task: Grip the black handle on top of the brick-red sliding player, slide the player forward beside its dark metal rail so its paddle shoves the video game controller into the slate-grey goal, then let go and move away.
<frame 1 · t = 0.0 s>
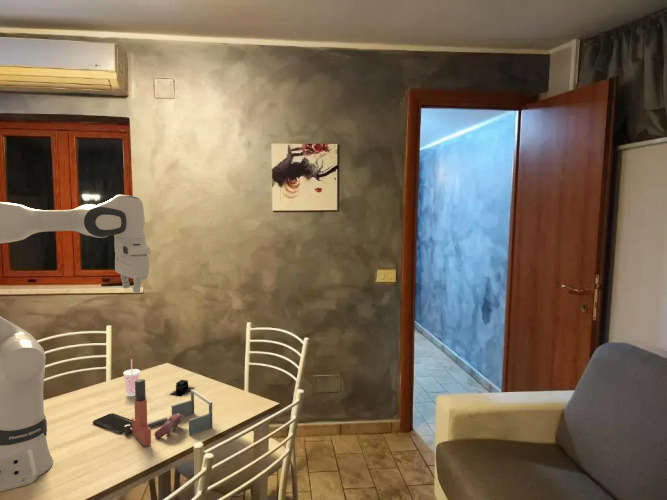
hand: (131, 290, 145), 48 cm above the table, tool pointing down, fingers open, 8 cm apart
goal: (191, 423, 158), on the table
video game controller: (170, 432, 152), on the table
rail: (148, 427, 155), on the table
beverage cup: (132, 394, 181), on the table
black piece: (182, 392, 185), on the table
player: (140, 409, 146), point 10 cm above the table, slide at 0.0 cm
phone: (115, 425, 157), on the table
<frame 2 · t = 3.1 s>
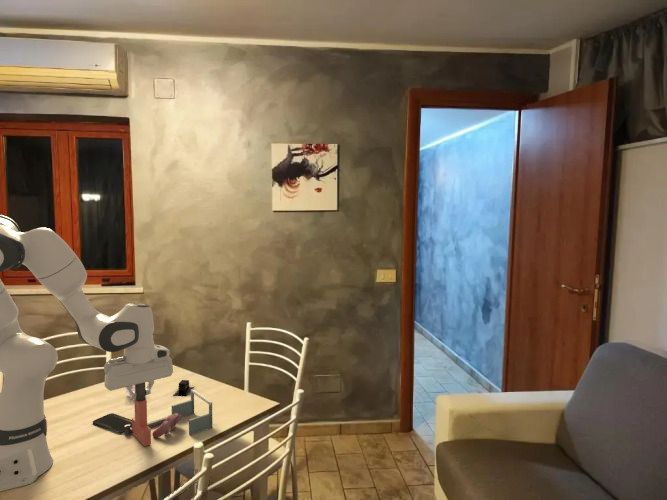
hand: (140, 395, 145), 15 cm above the table, tool pointing down, fingers closed on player, 3 cm apart
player: (140, 409, 146), point 10 cm above the table, slide at 0.0 cm, touching gripper
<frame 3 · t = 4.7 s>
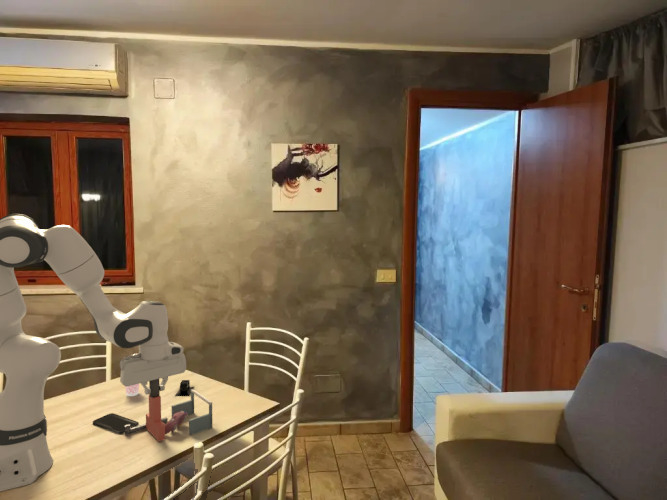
hand: (154, 391, 148), 15 cm above the table, tool pointing down, fingers closed on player, 3 cm apart
video game controller: (174, 430, 154), on the table, touching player
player: (154, 405, 149), point 10 cm above the table, slide at 4.5 cm, touching gripper, video game controller
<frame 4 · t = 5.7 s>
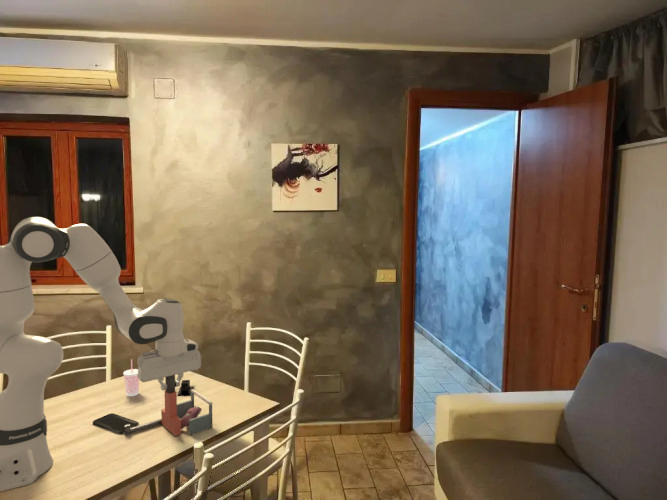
hand: (170, 387, 152), 15 cm above the table, tool pointing down, fingers closed on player, 3 cm apart
video game controller: (189, 425, 157), on the table, touching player
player: (170, 401, 152), point 10 cm above the table, slide at 9.7 cm, touching gripper, video game controller
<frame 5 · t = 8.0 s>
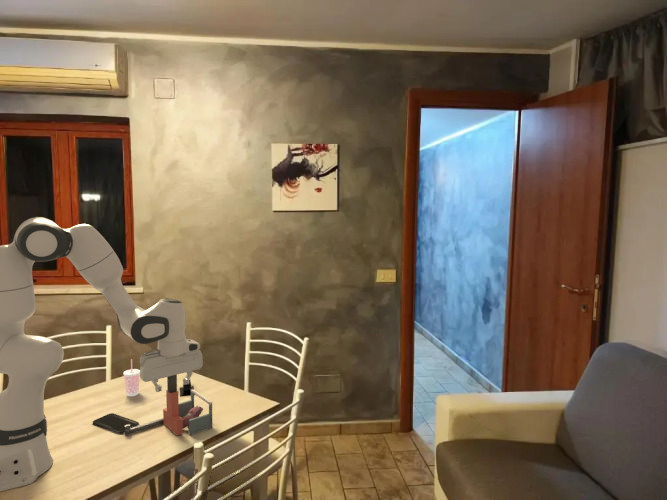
hand: (172, 387, 152), 15 cm above the table, tool pointing down, fingers open, 8 cm apart
video game controller: (190, 424, 158), on the table
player: (172, 400, 153), point 10 cm above the table, slide at 10.4 cm
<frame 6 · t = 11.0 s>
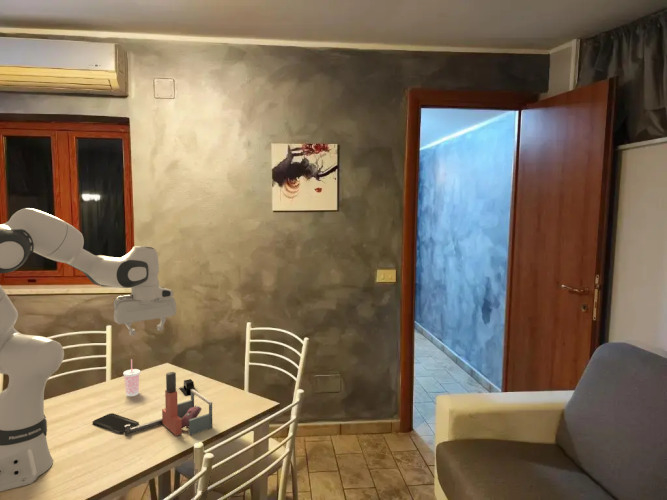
hand: (146, 332, 158), 31 cm above the table, tool pointing down, fingers open, 8 cm apart
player: (171, 401, 152), point 10 cm above the table, slide at 10.0 cm
at the end: video game controller inside the target area on the goal (2.4 cm from its centre), point 0.0 cm above the goal's base; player slide at 10.0 cm; video game controller tilted 1° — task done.
